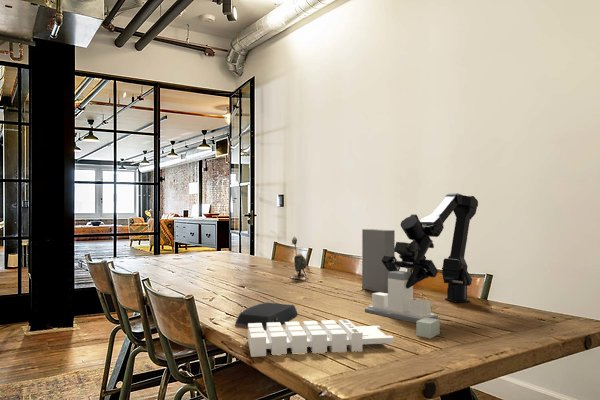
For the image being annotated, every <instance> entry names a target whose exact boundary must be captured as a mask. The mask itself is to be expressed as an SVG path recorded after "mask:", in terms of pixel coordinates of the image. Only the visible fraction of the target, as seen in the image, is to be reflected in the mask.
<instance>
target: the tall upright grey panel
mask: <svg viewBox="0 0 600 400" xmlns="http://www.w3.org/2000/svg"><path fill="white" fill-rule="evenodd" d="M361 233H362V234H361V239H362V241H361V242H362V243H361V246H362V248H361V249H362V251H361V255H362V256H361V259H362V261H361V262H362V264H361V266H362V267H361V269H362V270H361V274H362V277H361V278H362V279H361V283H362V284H361V289H362V290H368V291H372V292H375V293H378V292H381V293H387V294H388V272H389V271H388V270H387V268H386V267H385V265H384V264H383V263H382V261H381V260H382V259H383V257H384V256H395V253H396V252H394V249H395V245H396V242H395V241H396V240H395V239H396V237H395V235H396V233H395V230H393V229H378V228H377V229H375V228H363V229H362V231H361ZM395 257H396V256H395Z"/></svg>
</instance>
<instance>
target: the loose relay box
mask: <svg viewBox="0 0 600 400" xmlns="http://www.w3.org/2000/svg"><path fill="white" fill-rule="evenodd" d="M440 321H441V319H439V318H437V319H433V318H427V317H425V318H423V319H421V320H418V321H416V323H415V326H416V327H415V329H416V332H415V336H417V337H421V338H427V339H432V338H434V337H436V336H438V335H440V330H441V329H440V328H441V327H440V326H441V325H440V324H441V323H440Z"/></svg>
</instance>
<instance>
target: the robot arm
mask: <svg viewBox="0 0 600 400" xmlns="http://www.w3.org/2000/svg"><path fill="white" fill-rule="evenodd" d="M478 206H479V200H478V199H477V198H476V197H475V196H474V195H463V194H461V193H459V192H458V193H447V194H446V195H445V197H444V199H443V200H442V201H441V203H440V204H439V205H438V206H437V207H436V208H435V210H434V211H433V212H432V213H430V215H427V216H424V217H423V218H422V219H421V220H420V219H419V216H418V215H417V214H416V213H415V214H410V216H408V217H406V218H404V219H403V220H401V222H400V227H401V229H402V230H403V232H404V233H405V235H406V236H407V238H408V239H409V240H411V241H410V242H404V241H402V242H401V241H396V242H395V249H394V252H395V253H397V254H399V256H398V258H399V259H400V260H398V259H397V258H396V256H384V257H383V259H382V260H381V261H382V263H383V264H384V265H385V267H386V268H387V270H388V271H389V272H391V271H401V268H403V269H404V268H405V269H407V270H412V274H411V276H410V278H409V280H408V282H407V284H406V288H407V289H408V288H410V287H411V286H413V287H414V285H416V284H418V283H420V282H421V281H423V280H425V279H428V278H435V279H436V277H437V275H438V268H437V266H436V265H435V264H434V262H433V260H432V259H427V256H426V254H427V252H428V250H429V249H434V248H435V244H434V243H433V239H431V237H432V238H438V237H440V236H441V234H442V232H443V231H444V223H445V222H446V220H447V219H448V217H450V215H451V214H452V213H453V214H454V215H455V224H454V229H453V230H454V231H453V236H452V242H451V248H450V254H449V256H448V257H446V258H445V257H444V259H443V261H442V262H443V263H442V268H441V274H442V279H443V280H442V281H443V283H444V284H447V289H446V290H447V291H446V292H447V294H446V295H447V296H446V297H445V298H444V300H446V301H449V302H453V303H458V304H459V303H466V302H471V299H468V286H469V287H470V286H472V281H473V278H472V277H471V275H470V273H469V271H468V263H467V262H466V259H465V254H466V248H467V241H468V234H469V230H470V229H469V228H470V223H471V222H470V221H471V220H472V219H473V217H474V216H475V215H476V212H477V210H478Z"/></svg>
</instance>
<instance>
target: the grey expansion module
mask: <svg viewBox="0 0 600 400" xmlns="http://www.w3.org/2000/svg"><path fill="white" fill-rule="evenodd" d="M412 272H413V271H412ZM412 272H410V271H403V270H399V271H391V272H388V293H387V294H388V310H393V311H398V312H403V313H404V312H408V311H410V300H414V297H413V296H414V285H413V286H411V287H410V288H408V289H407V288H406V284H407V282H408V280H409V278H410V276H411V274H412Z"/></svg>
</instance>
